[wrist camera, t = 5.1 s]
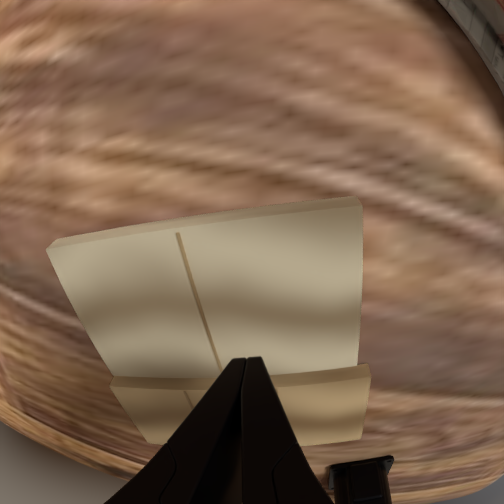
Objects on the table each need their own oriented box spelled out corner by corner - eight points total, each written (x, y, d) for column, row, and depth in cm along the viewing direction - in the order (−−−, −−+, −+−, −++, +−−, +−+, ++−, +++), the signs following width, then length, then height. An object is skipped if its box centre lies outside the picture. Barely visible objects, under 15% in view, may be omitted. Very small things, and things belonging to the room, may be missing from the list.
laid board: (358, 427, 23) (360, 439, 21) (151, 432, 25) (148, 443, 24) (367, 363, 19) (371, 377, 18) (114, 374, 21) (108, 386, 20)
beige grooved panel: (353, 351, 19) (357, 366, 18) (118, 363, 21) (112, 376, 20) (355, 195, 14) (362, 206, 13) (56, 239, 16) (45, 249, 15)
